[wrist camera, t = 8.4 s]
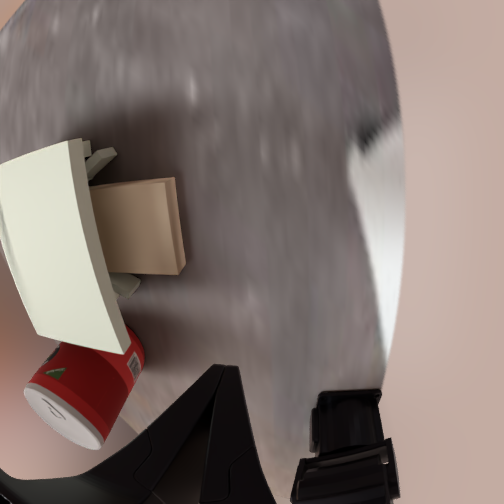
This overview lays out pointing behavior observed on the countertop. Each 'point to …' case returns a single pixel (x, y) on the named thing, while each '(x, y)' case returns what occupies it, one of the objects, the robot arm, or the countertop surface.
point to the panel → (139, 226)
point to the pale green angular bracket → (62, 246)
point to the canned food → (84, 389)
